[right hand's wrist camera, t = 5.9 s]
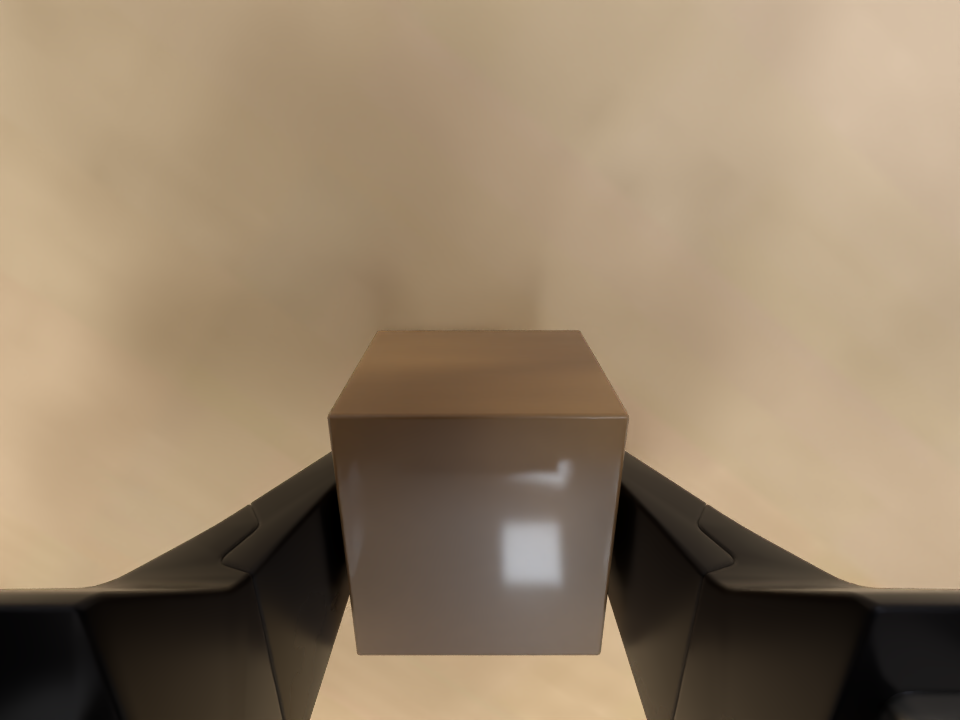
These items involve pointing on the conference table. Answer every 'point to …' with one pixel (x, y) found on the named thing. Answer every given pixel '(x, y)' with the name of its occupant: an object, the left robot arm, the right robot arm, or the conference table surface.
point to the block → (478, 492)
